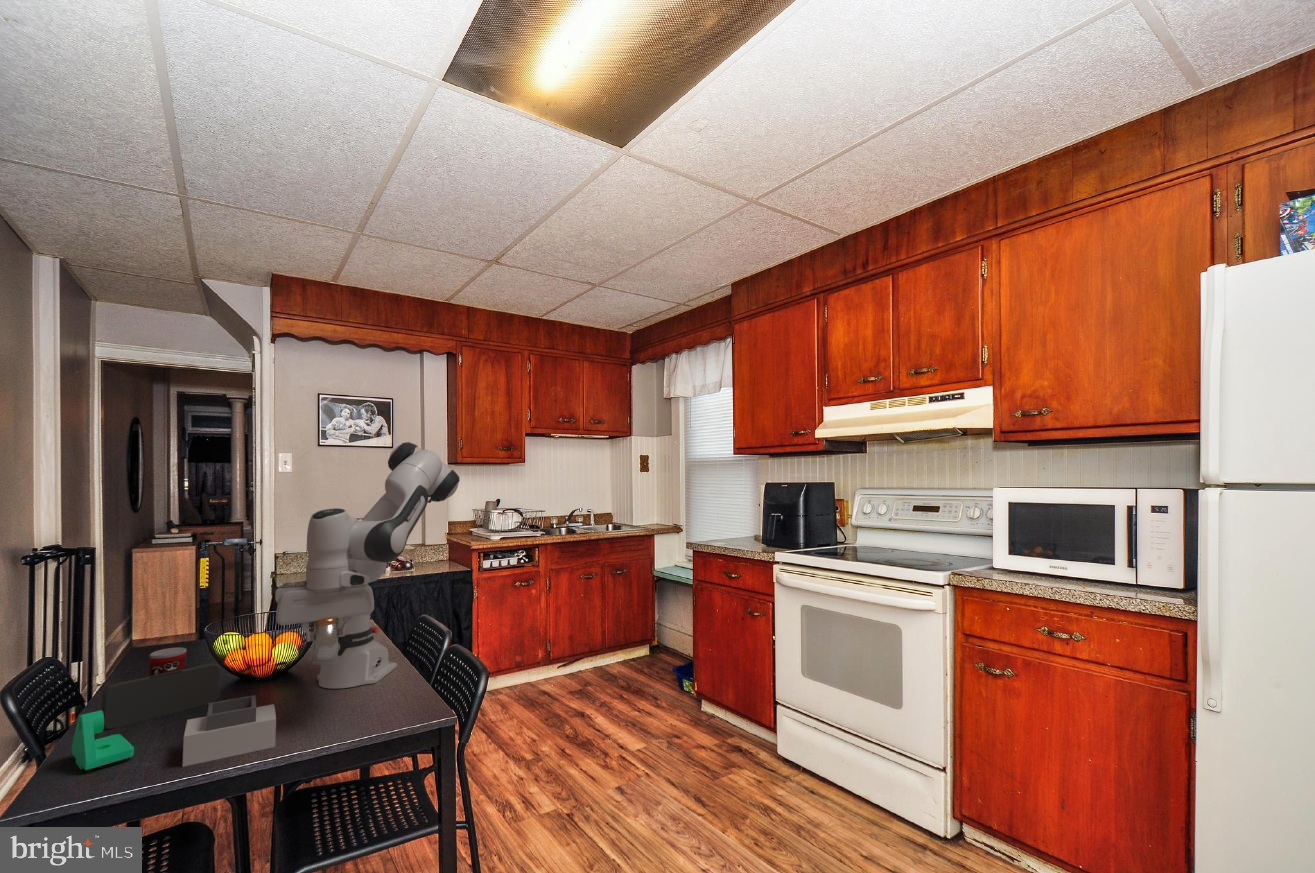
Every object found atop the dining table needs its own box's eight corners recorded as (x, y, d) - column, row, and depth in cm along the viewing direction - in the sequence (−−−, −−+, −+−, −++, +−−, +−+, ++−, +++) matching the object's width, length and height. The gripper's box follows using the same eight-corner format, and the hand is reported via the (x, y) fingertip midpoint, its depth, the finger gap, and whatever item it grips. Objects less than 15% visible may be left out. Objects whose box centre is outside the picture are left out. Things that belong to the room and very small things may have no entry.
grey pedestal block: (182, 766, 125) (184, 721, 125) (186, 748, 133) (188, 705, 134) (275, 746, 134) (276, 704, 134) (273, 730, 142) (274, 690, 143)
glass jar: (323, 657, 147) (324, 614, 147) (342, 658, 146) (343, 615, 146) (308, 663, 142) (309, 620, 142) (327, 665, 141) (328, 620, 141)
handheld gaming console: (215, 699, 161) (217, 660, 162) (219, 702, 160) (221, 662, 160) (99, 728, 143) (102, 685, 144) (102, 732, 142) (104, 687, 142)
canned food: (140, 698, 162) (142, 656, 162) (163, 687, 170) (165, 647, 170) (170, 698, 162) (171, 655, 162) (192, 687, 170) (193, 647, 170)
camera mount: (134, 761, 128) (136, 710, 128) (85, 775, 122) (88, 722, 122) (118, 745, 135) (120, 697, 135) (71, 758, 129) (73, 708, 129)
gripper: (276, 586, 136) (274, 649, 135) (376, 576, 148) (375, 634, 147) (274, 581, 141) (272, 642, 141) (371, 572, 153) (370, 628, 152)
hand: (326, 638), depth 144 cm, fingers closed on glass jar, 5 cm apart
